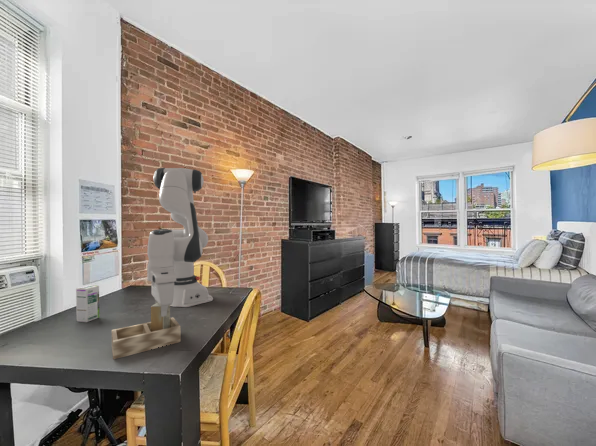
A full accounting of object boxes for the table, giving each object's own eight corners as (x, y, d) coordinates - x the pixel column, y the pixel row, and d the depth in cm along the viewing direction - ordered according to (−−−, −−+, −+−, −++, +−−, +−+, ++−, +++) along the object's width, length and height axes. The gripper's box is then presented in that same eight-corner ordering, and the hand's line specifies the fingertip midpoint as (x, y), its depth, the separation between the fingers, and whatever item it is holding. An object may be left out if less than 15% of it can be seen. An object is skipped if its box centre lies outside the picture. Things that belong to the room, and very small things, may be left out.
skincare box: (158, 333, 96) (158, 300, 96) (170, 332, 96) (170, 300, 96) (150, 341, 89) (150, 306, 90) (163, 340, 90) (163, 305, 90)
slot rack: (173, 331, 101) (173, 317, 101) (180, 341, 92) (180, 326, 92) (111, 345, 89) (111, 329, 89) (113, 359, 80) (113, 341, 80)
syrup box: (86, 322, 110) (87, 288, 110) (75, 321, 111) (75, 287, 111) (99, 317, 115) (99, 285, 115) (89, 316, 117) (89, 284, 117)
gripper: (147, 271, 99) (146, 307, 99) (156, 279, 83) (156, 322, 83) (165, 269, 103) (164, 304, 103) (177, 277, 87) (177, 318, 87)
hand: (161, 312), depth 93 cm, fingers closed on skincare box, 7 cm apart
